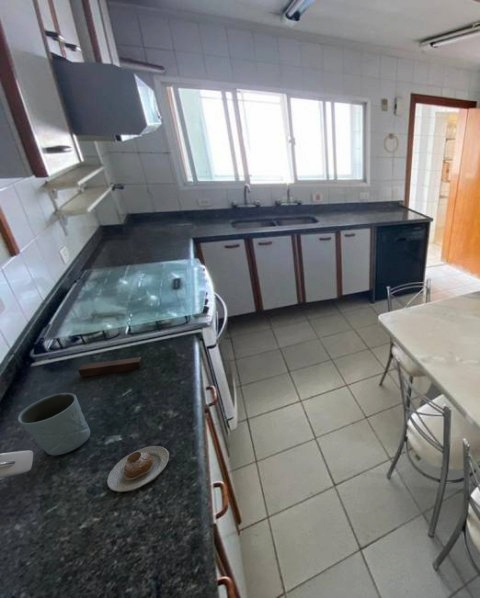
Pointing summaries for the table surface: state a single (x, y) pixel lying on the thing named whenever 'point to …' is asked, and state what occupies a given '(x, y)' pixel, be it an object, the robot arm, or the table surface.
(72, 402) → the grey green pot
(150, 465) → the pastry
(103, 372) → the bar
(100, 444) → the table surface
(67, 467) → the table surface
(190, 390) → the table surface
